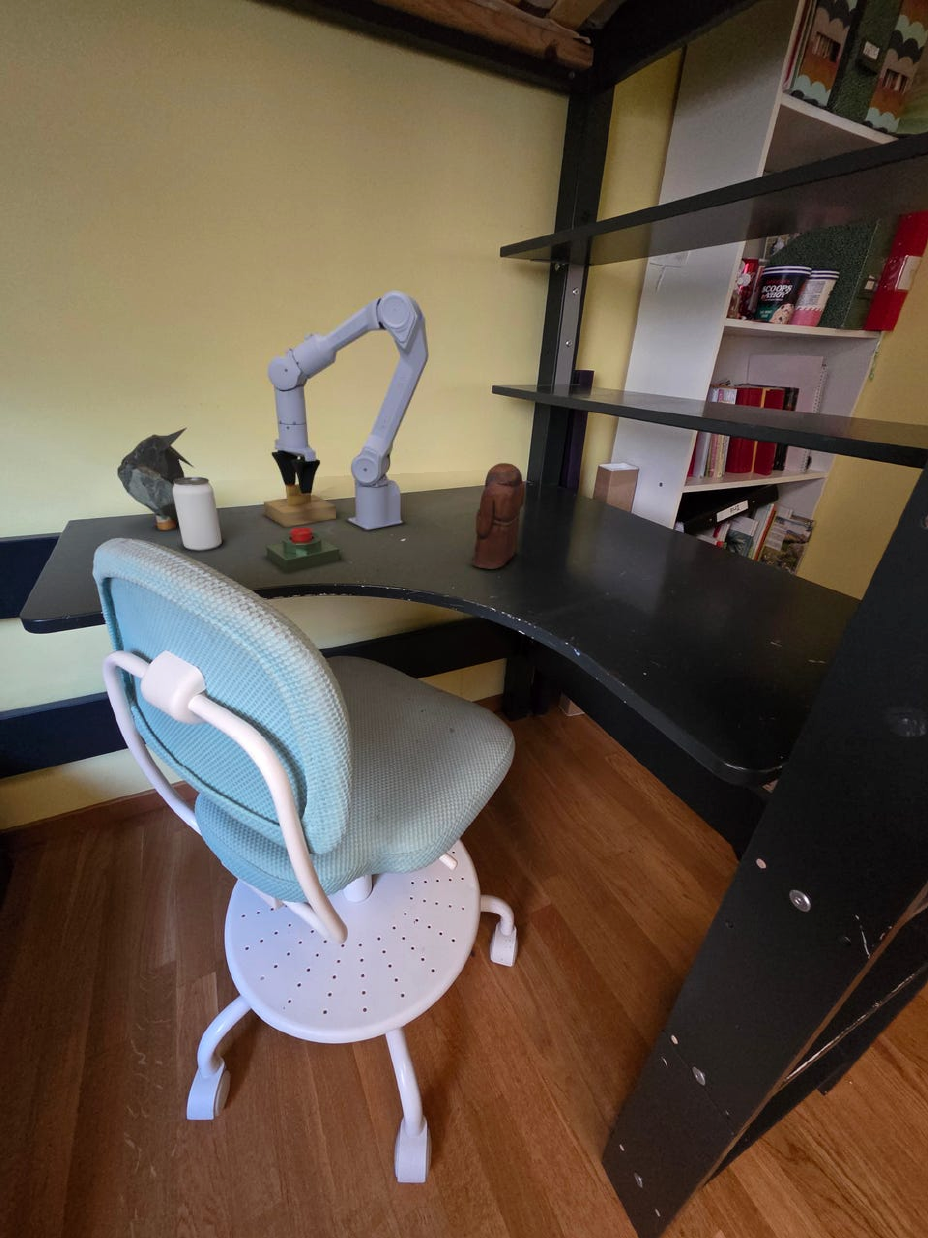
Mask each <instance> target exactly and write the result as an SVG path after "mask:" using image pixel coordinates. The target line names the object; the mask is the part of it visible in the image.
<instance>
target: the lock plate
mask: <svg viewBox="0 0 928 1238" xmlns="http://www.w3.org/2000/svg"><path fill="white" fill-rule="evenodd" d="M263 508H264V516H266V517H268V518H269V519H271V520H273V521H275V522H276V523H277V524H279V525H281V526H283V527H284V528H289V527H293V526H299V525H306V524H312V523H317V522H323V521H329V520H334V519H337V510H336V504H335V503H332V502H329V501H327V500H325V499H323V498H322V497H319V496H317V495H315V494H311V503H304V504H297V505H289V504H287V498H280V499H273V500H266V501H263Z"/></svg>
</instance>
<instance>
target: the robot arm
mask: <svg viewBox="0 0 928 1238" xmlns="http://www.w3.org/2000/svg"><path fill="white" fill-rule="evenodd" d="M426 329H427V328H426V317H425V316H424V312H423V311H422V309H421V306H420V304H419V302H417V300H416V299H415V298H413V297H412V296H410V295H407V294H405V293H404V292H401V291H400V290H391V291H388V292H386V293H385V294H384V295H383V296H382V297H378V298H375V299H374V300H371V301H370V302H369V303H367V304H366V305H364V306H363V307H361V308H360V309H359V310H357V312H355V313H354V314H352V315H351V316H350V317H349V318H347V319H346V320H344V322H342V323H341V324H339V325H338V326H337V327H335V328H334V329H333V330H331V331H330V332H329V333H328V334H326V335H325V334H322V333H319V332H315V333H314V334H313V333H307V334H305V336H304V341H302V342H301V343H300V344H298V345H297V346H295V347H294V348H288V349H286V350H285V356H282V355H279V356H278V355H277V356H274V357H273V359H272V360H271V361H270V362H269V364H268V366H267V377H268V379H269V382H270V383H271V385H272V386H273V390H274V401H275V412H276V421H277V422H276V423H277V430H278V439H276V438H275V439H274V450H275V451H272V452H271V456H272V458H273V460H274V461H275V463H276V464H277V467H278V469H279V472H280V474H281V479H282V480H283V484H284V486H285V487H286V486H287V484H292V485H295V484H296V481H298V484H299V487H300V491H301V493H302V494H307V493H311V494H312V492H313V487H314V482H315V477H316V474H317V471H318V468H319V466H320V465H321V460H320V459H317V455H316V454H317V453H316V450H314V449H313V448H312V447H311V445H310V444H309V435H308V434H309V433H308V423H307V422H308V421H307V408H306V407H307V406H306V398H305V397H306V396H305V386H306V385H307V383H308V380H311V379H312V378H313V377H315V376H316V375H318V374H319V373H321V372H323V371H324V370H325V369H327V368H328V367H330V366H332V365H333V364H335V363H336V359H337V353H338V352H339V351H341V350H342V349H344V348H346V347H347V346H349V345H351V344H352V343H355V342H356V341H357V340H359V339H360V338H362V337H364V336H366V335H367V334H369V333H370V332H373V331H375V332H376V331H377V332H378V331H379V332H380V331H387V332H388V334H389V335H390V336H391V337H392V338H393V341H394V343H395V345H396V348H397V351H398V353H399V356H400V357H399V360H398V363H397V365H396V368H395V370H394V373H393V375H392V378H391V381H390V382H389V385H388V388H387V391H386V393H385V396H384V399H383V401H382V403H381V406H380V408H379V411H378V414H377V416H376V419H375V421H374V424H373V425H372V426H373V427H372V429H371V431H370V434H369V436H368V437H367V438H366V441H365V442H364V444H363V446H362V449H361V451H360V452H359V453H358V454H357V455H355V456H354V458H353V459H352V461H351V463H350V473H351V475H352V477H353V479H354V502H355V503H354V505H355V506H354V507H355V516H353V517H349V518H347V521H348V522H349V523H352V524H354V525H356V526H358V527H360V528H362V529H364V530H366V531H371V530H376V529H380V528H385V527H392V526H395V525H400V524H403V520H402V519H401V518H402V517H401V514H402V511H401V509H402V504H401V503H402V501H401V499H402V497H401V496H402V495H401V494H402V493H401V490H400V486H399V485H398V484H397V482H396V481H394V480H392V479H391V480H390V479H389V477H388V475H387V473H388V472H389V470H390V468H391V455H392V452H393V450H394V443H395V439H396V437H397V435H398V433H399V430H400V427H401V425H402V422H403V421H404V418H405V416H406V413H407V411H408V409H409V406H410V404H411V401H412V399H413V396H414V394H415V392H416V389H417V387H418V384H419V382H420V380H421V377H422V375H423V373H424V370H425V368H426V365H427V364H428V361H429V347H428V339H427V330H426ZM276 450H277V451H276Z"/></svg>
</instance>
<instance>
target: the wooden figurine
mask: <svg viewBox="0 0 928 1238" xmlns="http://www.w3.org/2000/svg"><path fill="white" fill-rule="evenodd" d="M525 491H526V486H525V484H524V481H523V476H522V473H521V471H520V469H519V468H518V467H517V466H516V465H514V464H513V463H508V462H506V463H505V462H500V463H497V464H495V465H493V466H492V467H490V469H488V472H487V474H486V477H485V481H484V490H483V491H482V495H481V498H480V503H479V508H478V509H477V511H476V517H475V519H476V520H475V532H476V539H475V545H474V549H473V550H474V555H473V559H472V563H473V566H474V567H477V568H481V569H487V570H496V569H500V568H503V566H505V565H506V564H507V563H508V561H510V560H511V559H512V558H513V557H514V556H515V553H516V545H517V542H518V536H519V530H520V529H519V528H520V515H521V509H522V507H523V506H524V503H525V495H526V494H525Z"/></svg>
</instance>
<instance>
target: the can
mask: <svg viewBox="0 0 928 1238" xmlns="http://www.w3.org/2000/svg"><path fill="white" fill-rule="evenodd" d="M173 483H174V487H173V497H174V502H175V507H176V512H177V516H178V521H179V523H178V525H179V531H180V535H181V540H182V545H183V547H184V548H185V549H187V550H188V551H189V550H190V551H193V552H194V551H195V552H202V551H203V552H204V551H210V550H214V549H217V548H219V547H220V546H221V544H222V541H223V540H222V534H221V533H222V532H221V529H220V528H221V527H220V522H219V516H218V511H217V505H216V497H215V493H214V492H215V491H214V489H213V486H212V485H211V484H210V479H209V478H207V477H202V476H185V477H184V478H179V479H175V480H174V481H173Z"/></svg>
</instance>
